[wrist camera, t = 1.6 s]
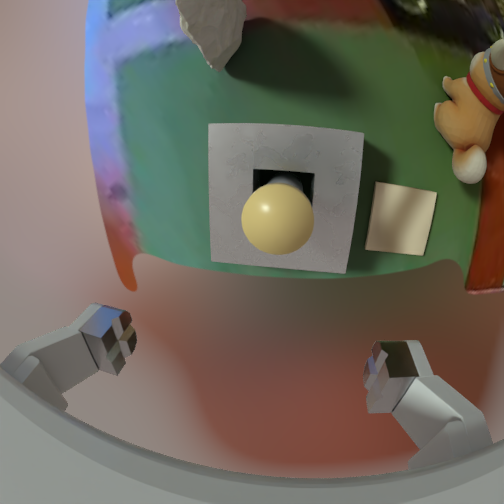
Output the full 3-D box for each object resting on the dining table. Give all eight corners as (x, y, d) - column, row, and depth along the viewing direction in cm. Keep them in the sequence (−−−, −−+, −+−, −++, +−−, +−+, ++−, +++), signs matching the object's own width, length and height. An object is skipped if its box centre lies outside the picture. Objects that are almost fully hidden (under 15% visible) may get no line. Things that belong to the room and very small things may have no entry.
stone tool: (235, 77, 25) (178, 36, 11) (209, 72, 25) (137, 34, 11) (259, 15, 21) (226, -59, 8) (233, 10, 21) (184, -58, 8)
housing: (353, 132, 25) (364, 133, 21) (339, 253, 31) (345, 273, 27) (222, 124, 27) (208, 123, 23) (223, 242, 33) (211, 261, 29)
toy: (488, 78, 18) (566, 73, 4) (470, 186, 25) (549, 230, 11) (428, 43, 18) (500, 7, 5) (410, 160, 25) (489, 191, 12)
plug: (310, 168, 28) (317, 188, 18) (306, 213, 30) (310, 257, 20) (262, 164, 29) (241, 183, 19) (260, 210, 31) (241, 251, 21)
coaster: (434, 191, 26) (436, 193, 26) (421, 253, 29) (422, 255, 29) (375, 181, 27) (376, 182, 27) (364, 247, 31) (365, 249, 30)
